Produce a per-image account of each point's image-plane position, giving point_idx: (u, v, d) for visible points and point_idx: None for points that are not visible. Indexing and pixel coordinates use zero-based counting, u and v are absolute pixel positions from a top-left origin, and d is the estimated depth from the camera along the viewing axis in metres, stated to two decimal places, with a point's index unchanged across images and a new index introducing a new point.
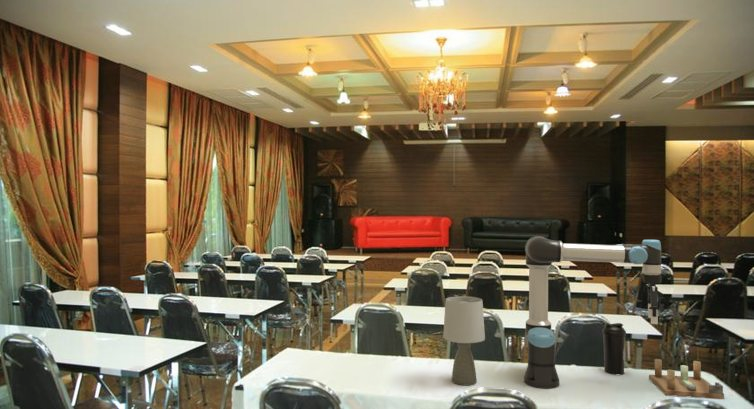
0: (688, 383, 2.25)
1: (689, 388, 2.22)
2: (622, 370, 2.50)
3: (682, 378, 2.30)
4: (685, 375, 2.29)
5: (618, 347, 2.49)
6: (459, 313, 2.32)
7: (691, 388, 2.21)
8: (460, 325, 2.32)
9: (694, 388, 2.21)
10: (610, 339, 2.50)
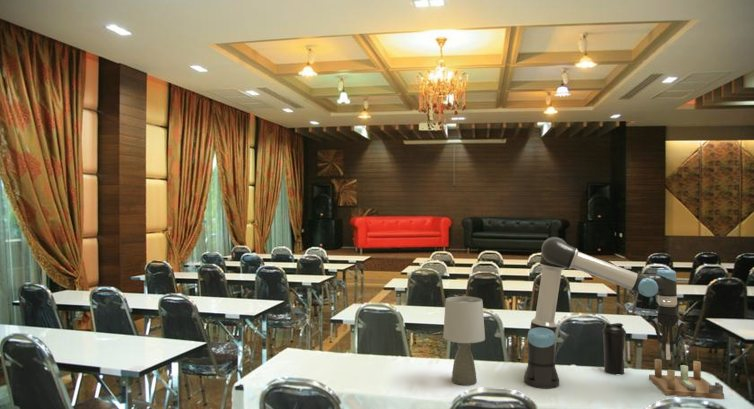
0: (688, 383, 2.25)
1: (689, 388, 2.22)
2: (622, 370, 2.50)
3: (682, 378, 2.30)
4: (685, 375, 2.29)
5: (618, 347, 2.49)
6: (459, 313, 2.32)
7: (691, 388, 2.21)
8: (460, 325, 2.32)
9: (694, 388, 2.21)
10: (610, 339, 2.50)
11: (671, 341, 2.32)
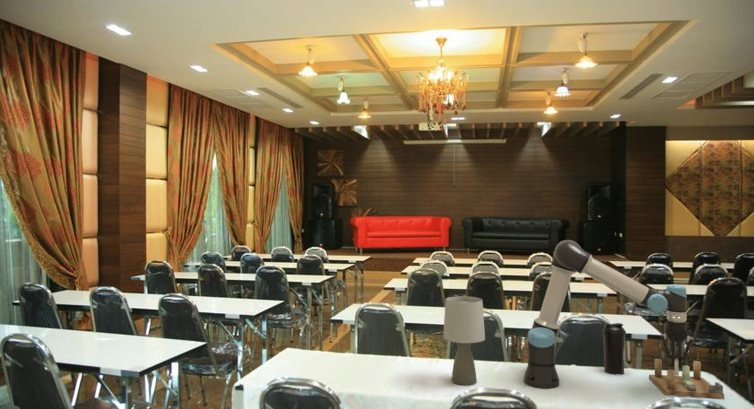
0: (688, 383, 2.25)
1: (689, 388, 2.22)
2: (622, 370, 2.50)
3: (683, 378, 2.30)
4: (686, 375, 2.29)
5: (618, 347, 2.49)
6: (459, 313, 2.32)
7: (691, 388, 2.21)
8: (460, 325, 2.32)
9: (694, 388, 2.21)
10: (610, 339, 2.50)
11: (680, 357, 2.31)
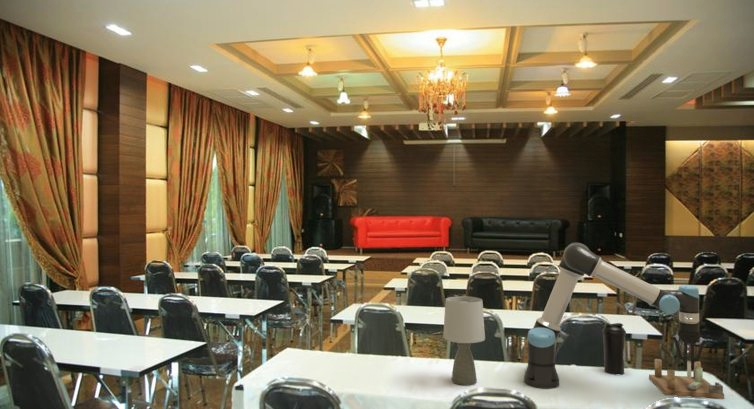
0: (693, 384, 2.24)
1: (687, 387, 2.23)
2: (622, 370, 2.50)
3: (695, 379, 2.28)
4: (697, 377, 2.27)
5: (618, 347, 2.49)
6: (459, 313, 2.32)
7: (688, 387, 2.22)
8: (460, 325, 2.32)
9: (691, 388, 2.21)
10: (610, 339, 2.50)
11: (692, 359, 2.28)
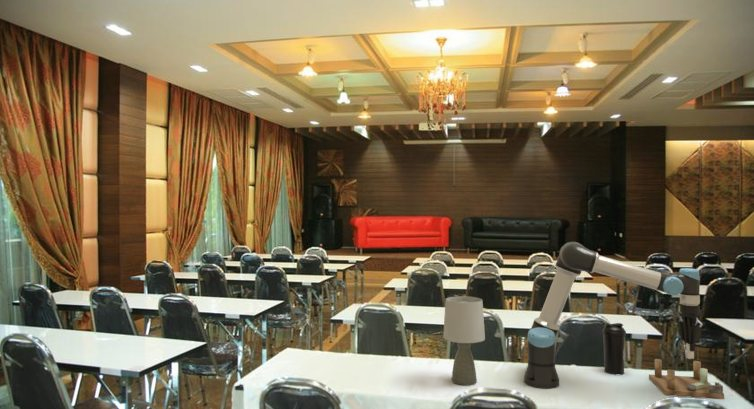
0: (694, 384, 2.24)
1: (687, 387, 2.23)
2: (622, 370, 2.50)
3: (700, 380, 2.27)
4: (701, 378, 2.26)
5: (618, 347, 2.49)
6: (459, 313, 2.32)
7: (688, 387, 2.22)
8: (460, 325, 2.32)
9: (690, 388, 2.21)
10: (610, 339, 2.50)
11: (690, 340, 2.31)
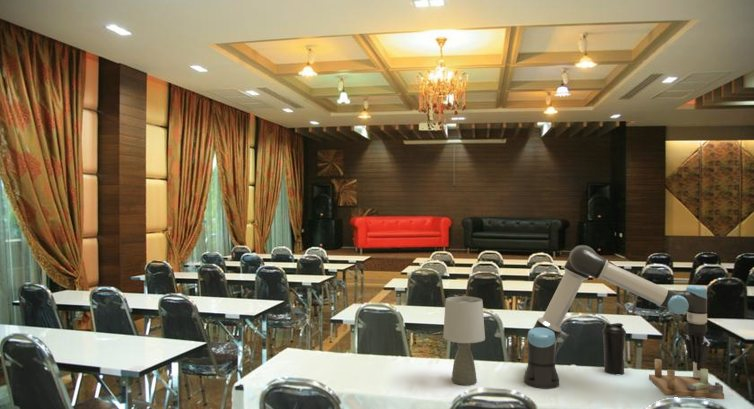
0: (695, 384, 2.24)
1: (687, 387, 2.23)
2: (622, 370, 2.50)
3: (700, 380, 2.26)
4: (702, 378, 2.25)
5: (618, 347, 2.49)
6: (459, 313, 2.32)
7: (688, 387, 2.23)
8: (460, 325, 2.32)
9: (690, 388, 2.21)
10: (610, 339, 2.50)
11: (697, 359, 2.28)
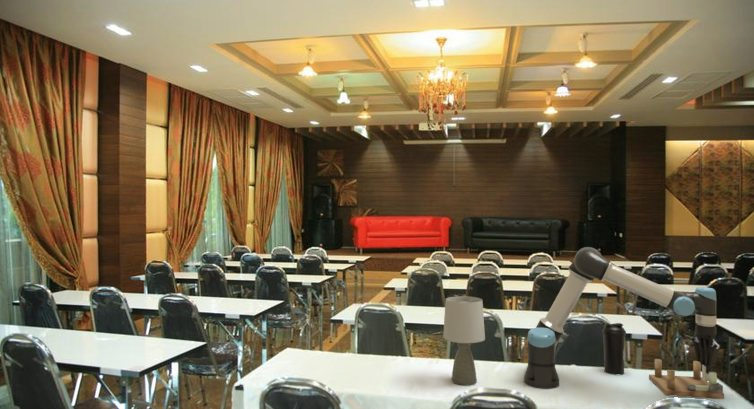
0: (698, 385, 2.22)
1: None
2: (622, 370, 2.50)
3: None
4: (709, 381, 2.21)
5: (618, 347, 2.49)
6: (459, 313, 2.32)
7: (687, 386, 2.23)
8: (460, 325, 2.32)
9: (688, 387, 2.22)
10: (610, 339, 2.50)
11: (706, 362, 2.23)
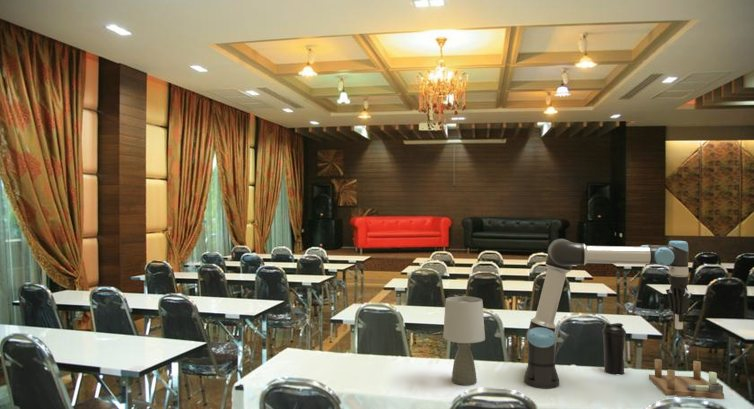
0: (698, 385, 2.22)
1: None
2: (622, 370, 2.50)
3: None
4: (709, 381, 2.21)
5: (618, 347, 2.49)
6: (459, 313, 2.32)
7: (687, 386, 2.23)
8: (460, 325, 2.32)
9: (688, 387, 2.22)
10: (610, 339, 2.50)
11: (678, 311, 2.35)
